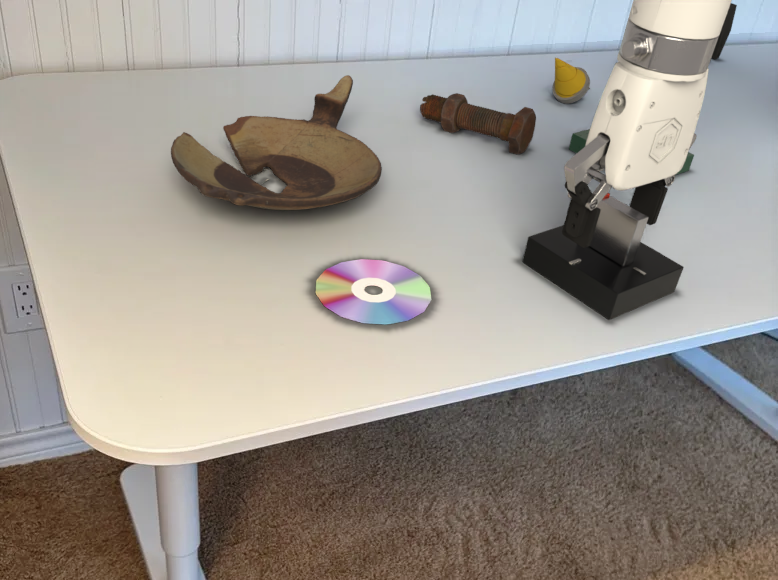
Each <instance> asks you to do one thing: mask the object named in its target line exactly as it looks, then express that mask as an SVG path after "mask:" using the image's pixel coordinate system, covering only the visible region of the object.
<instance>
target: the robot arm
mask: <svg viewBox="0 0 778 580" xmlns="http://www.w3.org/2000/svg"><path fill="white" fill-rule="evenodd" d="M731 3H732V0H633V1H632V5H631V7H630V10H629V14H628V18H627V21H626V24H625V29H624V31H623V36H622V39H621V43H620V46H619V50H618V54H617V57H616V60H617V62H615V64H614V66H613V68H612V70H611V72H610V75H609V77H608V79H607V82H606V84H605V86H604V89H603V92H602V94H601V97H600V99H599V102H598V105H597V107H596V110H595V113H594V116H593V118H592V122H591V125H590V128H589V129H590V131H589V134H588V138H587V141H586V145H585V147H584V148H583V149H582V150H580V151H579V152H578V153H575V154H574V155H573V156H572V157H571V158H570V159H568V160H567V161H566V162H565V164H564V167H563V171H564V178H565V183H564V189H566V191H567V197H568V198H569V199H570V201H569V204H568V208H567V212H566V215H565V219H564V222H563V225H564V226H563V229H562V234H563V235H564V236H565V237H567V238H568V239H570V240H571V241H573V242H575V243H576V244H578V245H579V246H581V247H583V248H586V247H589V246H590V244H591V241H592V238H593V235H594V231H595V228H596V225H597V221H598V218H599V215H600V211H601V209H599V208H597V206H598V204H599V203H600V202H601V201H602V199H603V198H604V197H605V195H606V194H607V193H609V192H610V191H611V189H612V188H613V190H616V191H618V192H624V191H627V190H628V191H629V190H631V189H634V191H633V193H632V196H631V200H630V203H629V206H630V207H631V208H633V209H635V210H637V211H639V212H640V213H642V214H644V215H646V216H648V217H649V218H648V221H647V224H646V225H648V226H653V225H655V224H656V223H657V221H658V218H659V215H660V213H661V210H662V207H663V204H664V201H665V199H666V195H667V193H668V191H669V187H671V186H672V185H673V184H674V182H675V179H676V175H675V174H676V173H678V172H679V171H680V170H681V169H682V167H683V165H684V162H685V160H686V157H687V154H688V152H690V150H691V148H692V146H693V145H694V143H695V142H696V140H697V137H698V135H697V134H696V133H695V132H696V129H697V125H698V122H699V118H700V115H701V111H702V107H703V104H704V99H705V95H706V90H707V84H708V77H709V65H710V62H711V60H712V58H711V57H712V54H713V52H714V49H715V46H716V43H717V40H718V37H719V35H720V32H721V29H722V26H723V23H724V21H725V18H726V15H727V12H728V9H729V7H730V4H731ZM603 171H604V172H605V173H603ZM592 180H594V181H596V182H598V183H599V184H598V185H597V186H596V188H595V189H594V190H593V191H592V190H591V188H590V186H589V184H590V183H591V182H592Z"/></svg>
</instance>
